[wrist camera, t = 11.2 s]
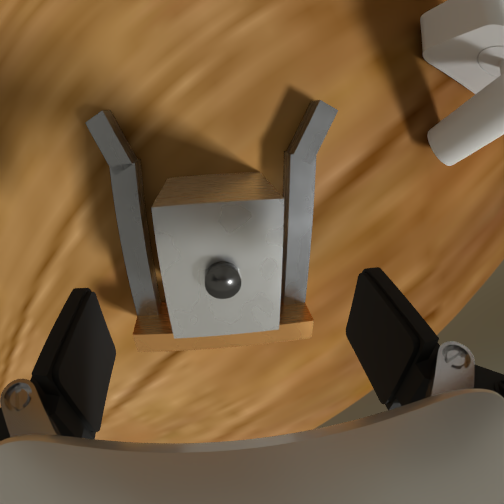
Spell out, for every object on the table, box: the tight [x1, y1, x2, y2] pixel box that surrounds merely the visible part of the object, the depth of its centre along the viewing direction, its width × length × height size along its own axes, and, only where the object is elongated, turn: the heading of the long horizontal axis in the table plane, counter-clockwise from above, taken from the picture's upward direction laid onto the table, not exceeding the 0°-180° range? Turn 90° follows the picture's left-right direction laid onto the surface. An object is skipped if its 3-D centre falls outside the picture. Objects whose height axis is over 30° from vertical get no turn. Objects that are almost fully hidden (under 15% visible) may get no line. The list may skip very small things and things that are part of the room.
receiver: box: [86, 100, 338, 352], centre depth 17 cm, size 15×14×4 cm
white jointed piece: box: [420, 0, 504, 166], centre depth 13 cm, size 8×10×10 cm
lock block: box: [151, 172, 284, 339], centre depth 16 cm, size 7×6×7 cm
